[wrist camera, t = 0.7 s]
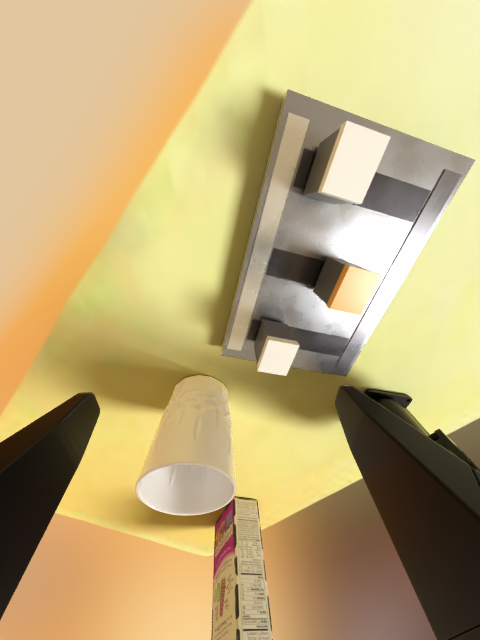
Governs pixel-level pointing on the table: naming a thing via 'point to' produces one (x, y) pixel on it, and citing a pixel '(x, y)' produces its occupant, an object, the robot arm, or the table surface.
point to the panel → (333, 235)
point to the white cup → (191, 452)
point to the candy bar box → (240, 575)
